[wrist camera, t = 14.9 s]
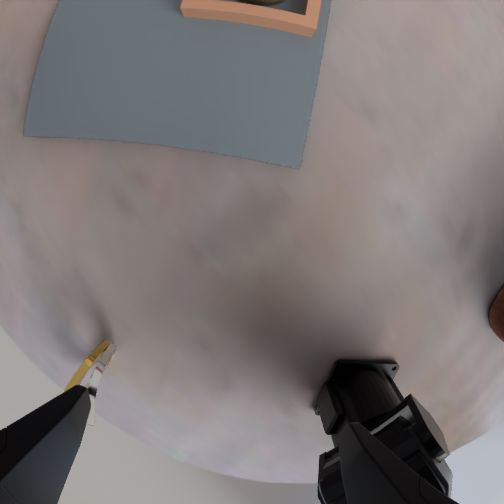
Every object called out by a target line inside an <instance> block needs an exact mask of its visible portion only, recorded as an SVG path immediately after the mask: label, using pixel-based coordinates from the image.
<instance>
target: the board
mask: <svg viewBox="0 0 504 504" xmlns="http://www.w3.org/2000/svg"><path fill="white" fill-rule="evenodd" d="M330 6H331V0H286V1H284V2H282V3H280V4H277V5H273V6H265V7H263V6H257V5H251V4H245V3H240V2H238V1H236V0H59V3H58V5H57V8H56V10H55V13H54V15H53V18H52V21H51V23H50V26H49V29H48V32H47V35H46V38H45V41H44V44H43V47H42V50H41V53H40V57H39V60H38V64H37V68H36V71H35V75H34V79H33V83H32V88H31V92H30V97H29V102H28V107H27V112H26V118H25V124H24V131H23V136H32V137H67V138H85V139H100V140H113V141H124V142H134V143H144V144H153V145H161V146H169V147H177V148H184V149H191V150H198V151H204V152H211V153H217V154H223V155H229V156H235V157H240V158H246V159H251V160H256V161H261V162H266V163H271V164H276V165H281V166H286V167H290V168H295V169H299V170H300V166H301V162H302V157H303V152H304V147H305V142H306V137H307V132H308V127H309V122H310V117H311V112H312V107H313V102H314V97H315V91H316V86H317V81H318V75H319V70H320V64H321V59H322V53H323V47H324V42H325V36H326V30H327V24H328V18H329V12H330Z"/></svg>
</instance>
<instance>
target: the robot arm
mask: <svg viewBox="0 0 504 504" xmlns="http://www.w3.org/2000/svg"><path fill="white" fill-rule="evenodd" d="M339 365H341V366H340V367H338V366H339ZM393 367H394V368H393ZM398 369H399V365H398V363H397V362H383V361H357V360H338V361H336V362H335V363H334V365H333V368H332V370H331V373H330V375H329V377H328V380H327V381H326V382H325V383H324V385H323V387H322V390H321V392H320V394H319V396H318V399H317V401H316V403H317V404H316V407H315V409H314V411H315V414H316V415H320V417H321V420H322V423H323V427H324V430H325V433H326V434H327V435H331V437H332V440H333V444H334V447H335V448H333V449H332V450H330V451H328V452H325V453H323V454H321V455H320V456H319V474H318V498H319V500H320V502H321V504H459V503H457V502H455V501H454V500H452V499H451V489H452V472H451V470H450V469H449V467H448V465H447V463H446V462H445V460H444V459H445V458H446V457H447V456H449V455H450V454H449V451H448V448H447V445H446V442H445V439H444V436H443V433H442V431H441V429H440V428H439V426H438V425H437V424H436V422H435V421H434V419H433V418H432V416H431V415H430V413H429V412H428V411H427V410H426V409H425V408H424V407H423V406H422V405H421V404H420V403H419V402H418V401H417V400H416V399H415V398H414V397H413V396H412V395H411V394H409V395H408V396H407V397H406V398H405V399H404V398H403V396H402V394H401V393H400V391H399V389H398V388H397V386H396V384H395V383H394V381H393V379H394V377H395V375H396V373H397V371H398ZM90 410H91V400H90V395H89V390H88V388H87V387H84V386H81V385H75V386H73V387H71V388H70V389H68V390H67V391H65V392H63V393H62V394H60V395H58V396H57V397H55V398H54V399H52V400H50V401H49V402H47V403H45V404H44V405H42V406H40V407H39V408H37V409H35V410H34V411H32V412H30V413H29V414H27V415H25V416H24V417H22V418H21V419H19V420H17V421H16V422H14V423H12V424H10V425H9V426H7V428H4V429H2V430H0V504H57V503H58V500H59V498H60V495H61V492H62V490H63V487H64V484H65V482H66V479H67V476H68V474H69V471H70V469H71V466H72V464H73V461H74V459H75V456H76V454H77V452H78V449H79V447H80V444H81V441H82V437H83V434H84V430H85V427H86V423H87V420H88V416H89V413H90Z"/></svg>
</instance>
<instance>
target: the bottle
mask: <svg viewBox="0 0 504 504" xmlns="http://www.w3.org/2000/svg"><path fill="white" fill-rule="evenodd" d="M236 1H238V2H240V3H245V4H251V5H257V6H263V7H265V6H273V5H277V4H280V3H282V2H284V1H286V0H236Z"/></svg>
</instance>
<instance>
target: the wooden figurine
mask: <svg viewBox="0 0 504 504" xmlns="http://www.w3.org/2000/svg"><path fill="white" fill-rule="evenodd" d="M489 321H490V325H491V328H492V330H493V331H494V332H495V334H496V335H497V336H498V337H499V338H500V339H501V340H502V341H503V342H504V285H503V286H502V288H501V290H500V292H499V293H498V295H497V297H496V299H495V301H494V303H493V304H492V306H491V309H490V313H489Z"/></svg>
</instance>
